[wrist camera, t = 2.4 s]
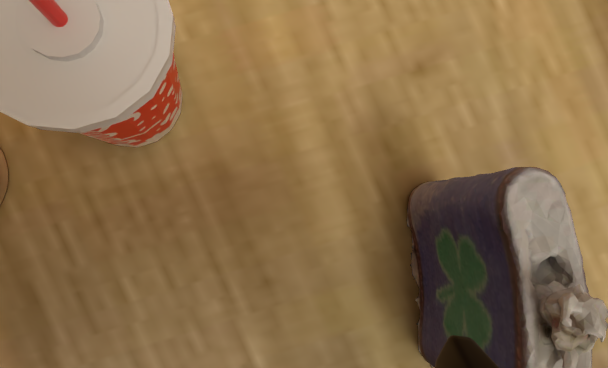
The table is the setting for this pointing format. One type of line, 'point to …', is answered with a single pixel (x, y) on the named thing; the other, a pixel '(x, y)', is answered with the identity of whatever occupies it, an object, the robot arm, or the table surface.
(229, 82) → the table surface
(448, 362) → the robot arm
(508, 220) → the flask
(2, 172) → the spoon
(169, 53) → the beverage cup
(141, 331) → the table surface
